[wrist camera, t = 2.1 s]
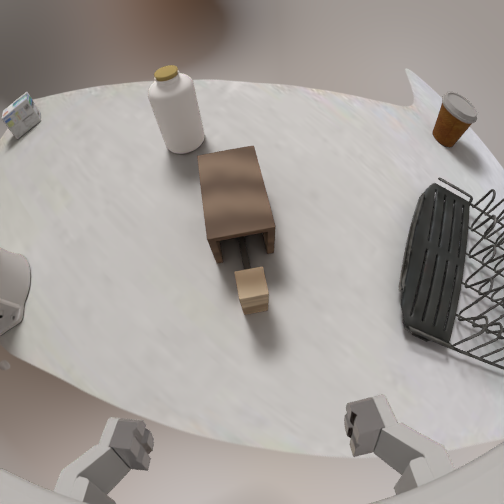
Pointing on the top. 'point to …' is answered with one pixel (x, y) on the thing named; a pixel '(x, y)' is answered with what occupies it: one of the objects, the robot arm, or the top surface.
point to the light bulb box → (21, 115)
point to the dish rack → (455, 261)
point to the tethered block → (251, 285)
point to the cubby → (234, 198)
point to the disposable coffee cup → (453, 118)
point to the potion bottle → (176, 110)
